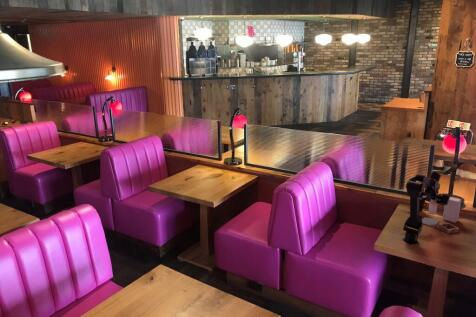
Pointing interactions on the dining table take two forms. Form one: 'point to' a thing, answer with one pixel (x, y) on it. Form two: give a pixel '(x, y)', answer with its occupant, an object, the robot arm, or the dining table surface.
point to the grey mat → (430, 221)
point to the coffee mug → (421, 204)
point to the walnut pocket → (453, 228)
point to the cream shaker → (432, 207)
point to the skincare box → (452, 210)
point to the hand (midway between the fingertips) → (433, 202)
